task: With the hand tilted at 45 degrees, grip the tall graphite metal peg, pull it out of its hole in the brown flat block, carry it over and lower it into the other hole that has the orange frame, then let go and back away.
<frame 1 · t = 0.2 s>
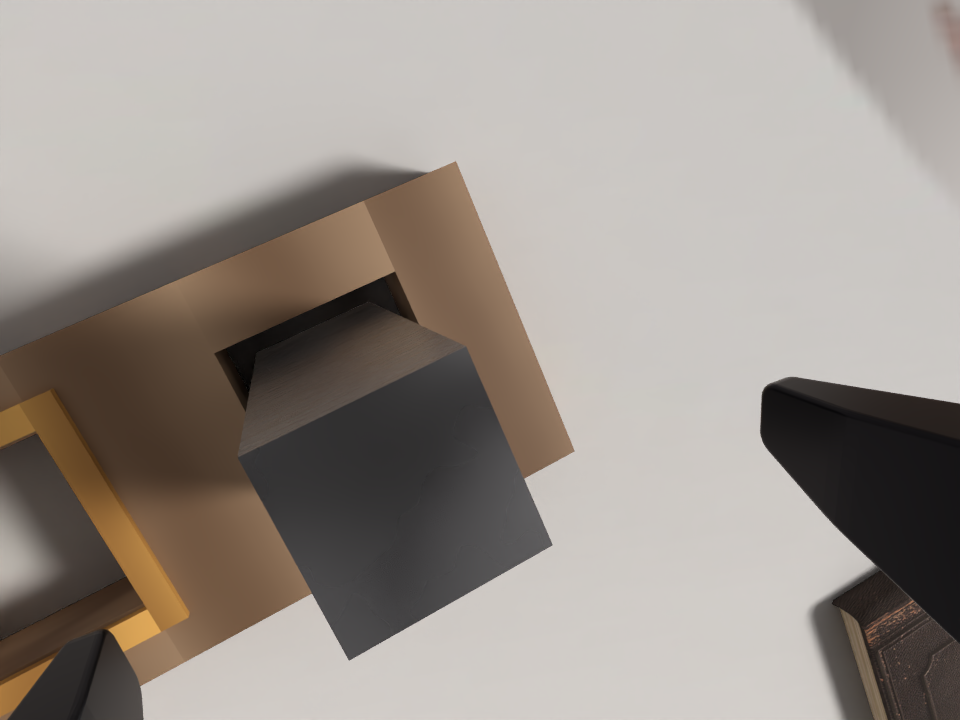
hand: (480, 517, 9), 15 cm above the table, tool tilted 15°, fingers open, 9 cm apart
brown flat block: (192, 450, 22), on the table
peg: (339, 379, 23), resting in brown flat block
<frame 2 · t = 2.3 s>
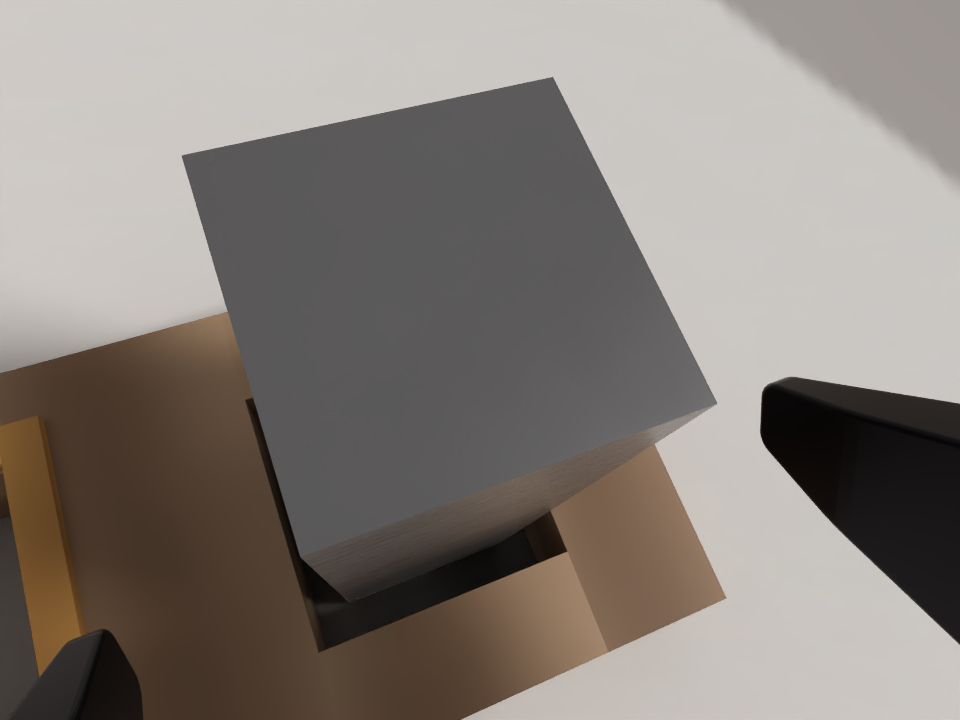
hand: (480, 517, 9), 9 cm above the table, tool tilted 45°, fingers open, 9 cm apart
brown flat block: (196, 571, 17), on the table
peg: (400, 498, 18), resting in brown flat block
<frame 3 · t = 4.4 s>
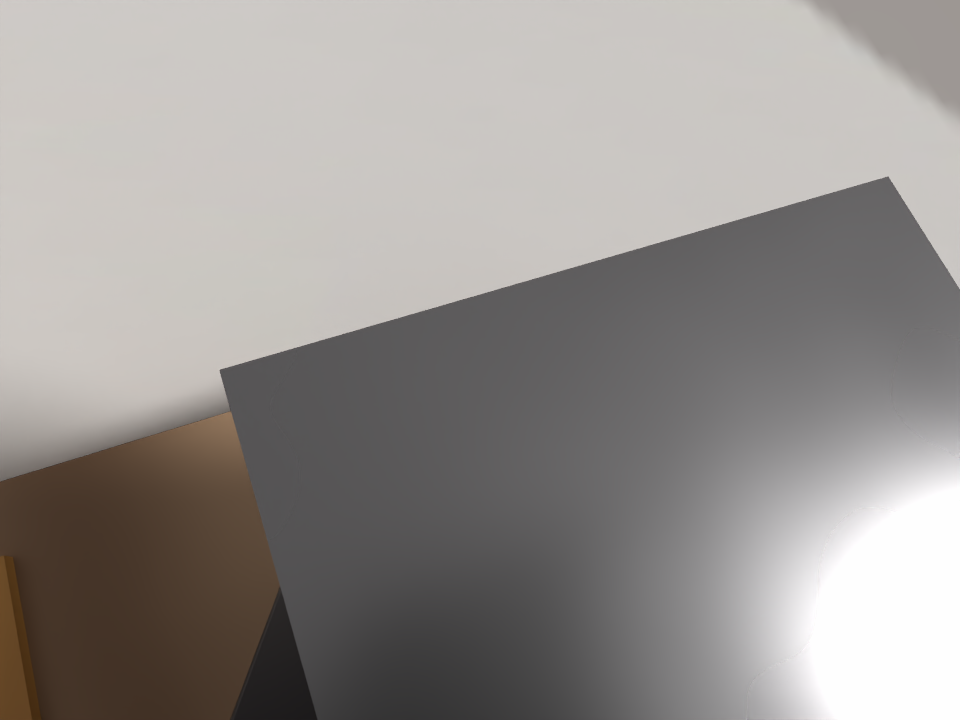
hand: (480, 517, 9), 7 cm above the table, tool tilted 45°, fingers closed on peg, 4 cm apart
peg: (459, 621, 15), resting in brown flat block, touching gripper
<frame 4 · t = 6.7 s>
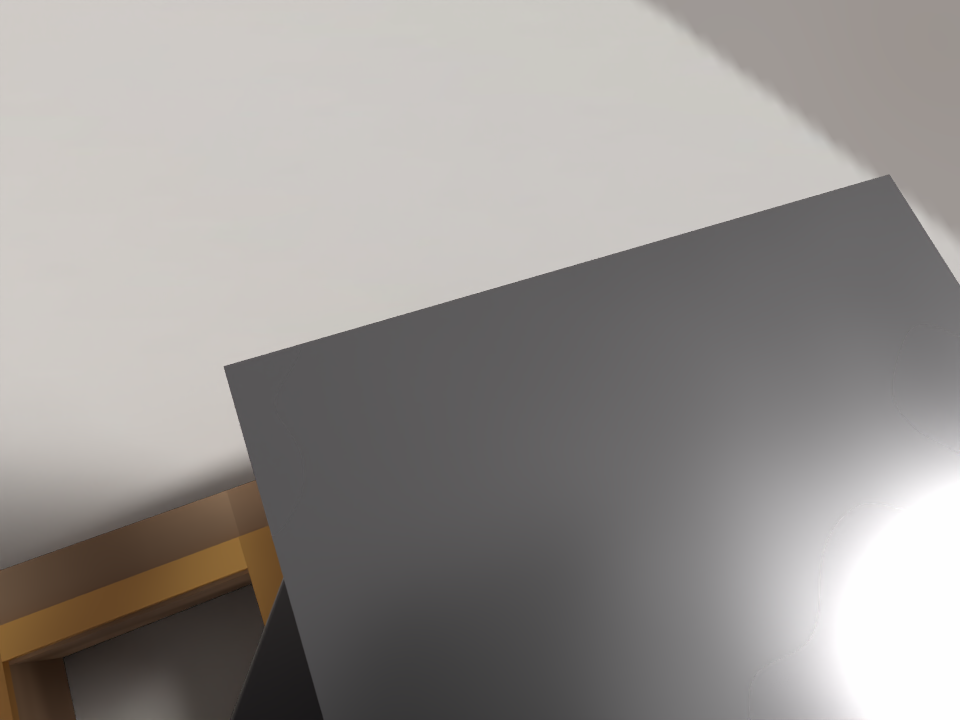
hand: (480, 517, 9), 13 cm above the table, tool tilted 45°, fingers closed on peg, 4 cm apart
brown flat block: (377, 638, 20), on the table
peg: (460, 620, 15), point 6 cm above the table, touching gripper
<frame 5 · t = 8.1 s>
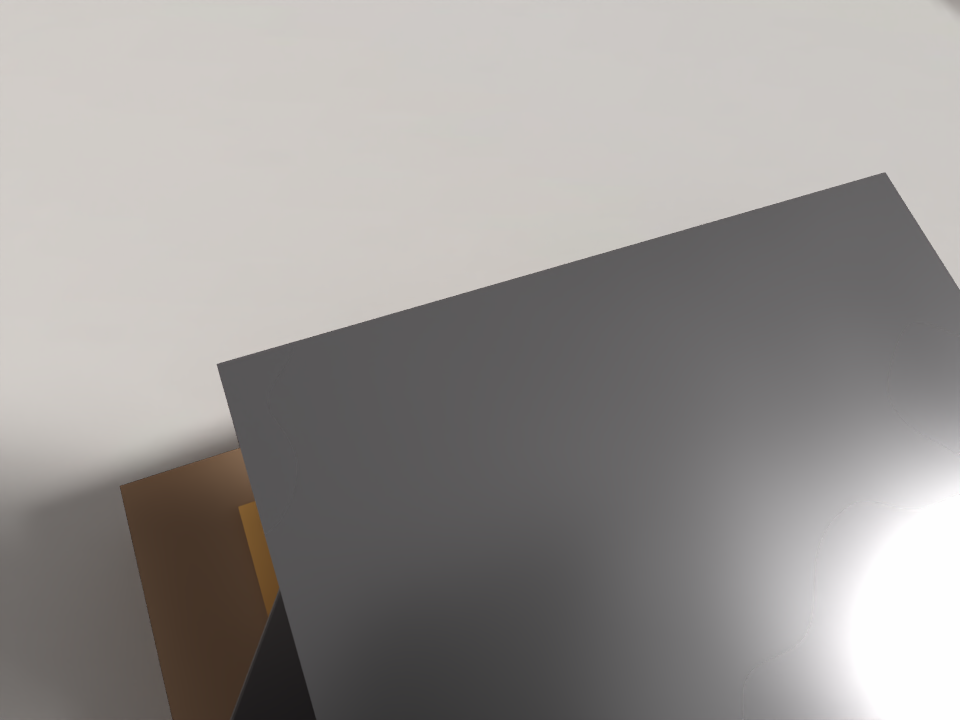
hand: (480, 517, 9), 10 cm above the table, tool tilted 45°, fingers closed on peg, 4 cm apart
brown flat block: (621, 542, 19), on the table
peg: (459, 620, 15), point 3 cm above the table, touching gripper
when the fingers open (7 cm above the table, at t = 9.3 s): peg stays where it is, resting in brown flat block.
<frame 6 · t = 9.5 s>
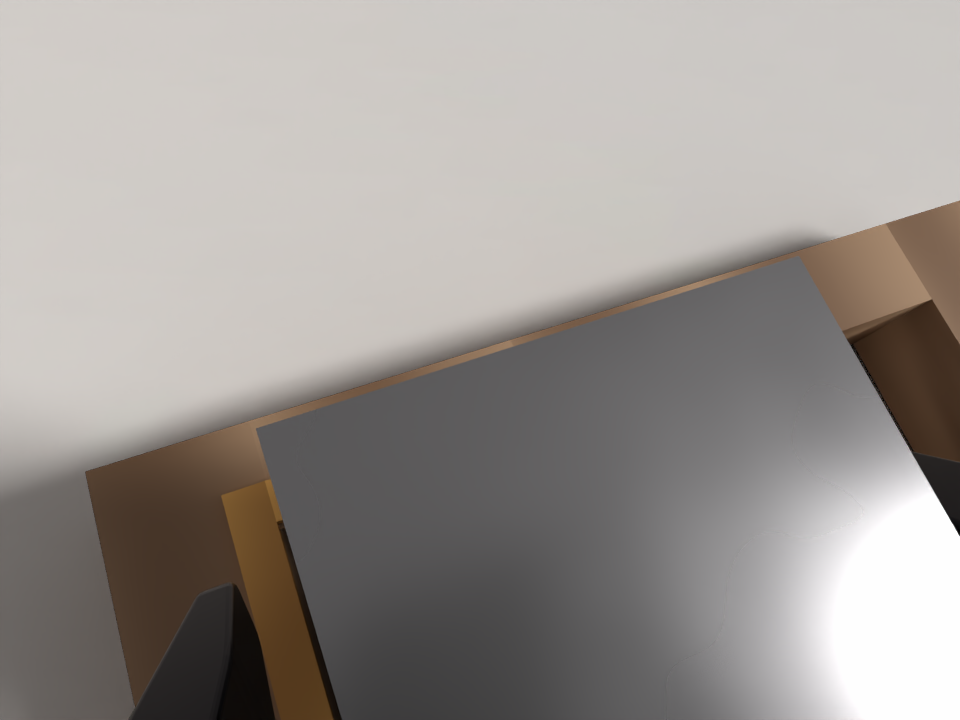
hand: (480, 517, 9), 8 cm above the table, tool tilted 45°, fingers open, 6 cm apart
brown flat block: (652, 538, 17), on the table
peg: (453, 620, 16), resting in brown flat block
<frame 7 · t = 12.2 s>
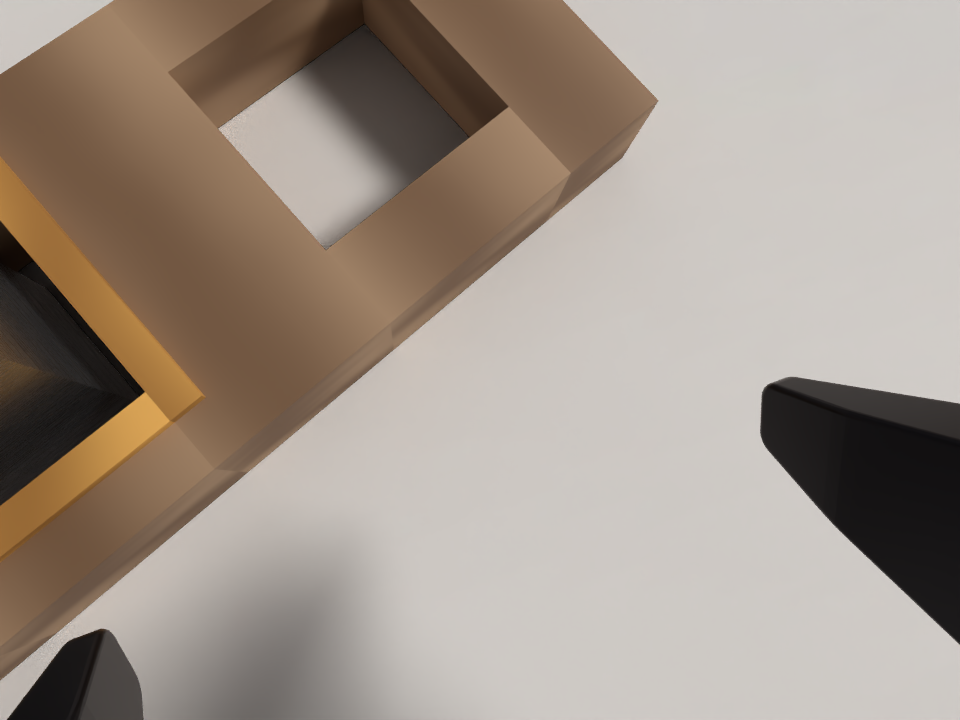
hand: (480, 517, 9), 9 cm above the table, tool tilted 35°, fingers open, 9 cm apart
brown flat block: (199, 266, 18), on the table
peg: (27, 397, 17), resting in brown flat block
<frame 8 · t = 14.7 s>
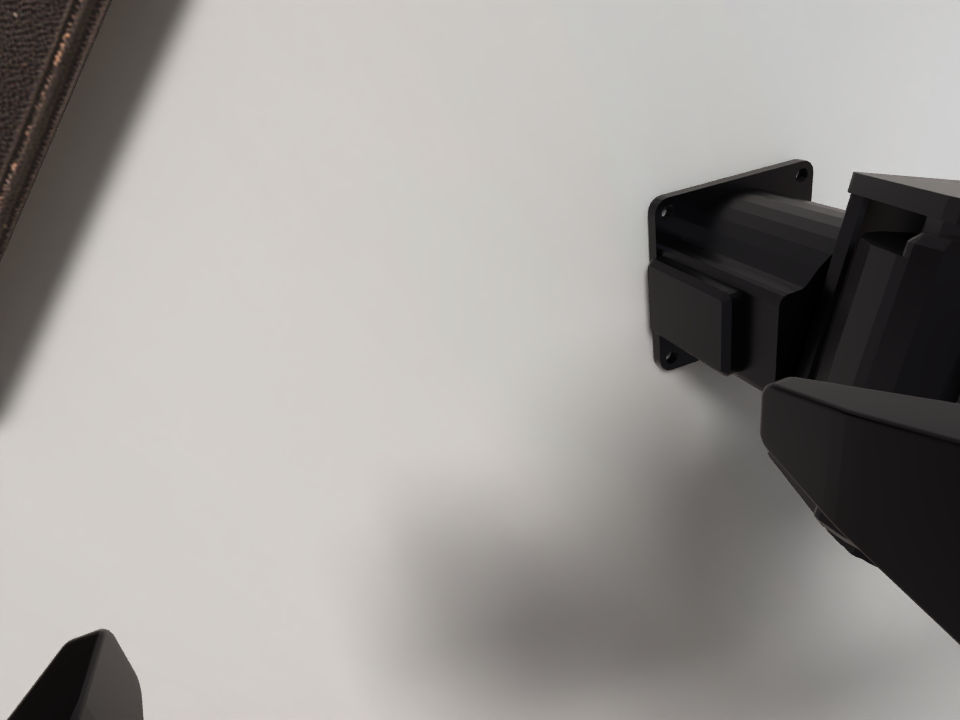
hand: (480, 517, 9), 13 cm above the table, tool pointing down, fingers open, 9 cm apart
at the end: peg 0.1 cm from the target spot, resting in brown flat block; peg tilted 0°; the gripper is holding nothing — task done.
